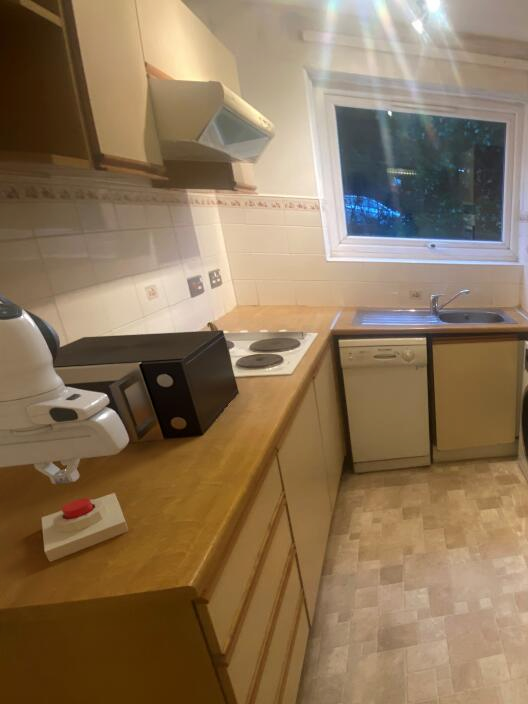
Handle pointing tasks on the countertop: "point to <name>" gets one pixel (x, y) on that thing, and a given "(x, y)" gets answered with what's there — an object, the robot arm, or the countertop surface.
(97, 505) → the button block
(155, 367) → the microwave
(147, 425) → the microwave door
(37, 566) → the countertop surface
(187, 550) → the countertop surface
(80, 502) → the button
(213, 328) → the vegetable
